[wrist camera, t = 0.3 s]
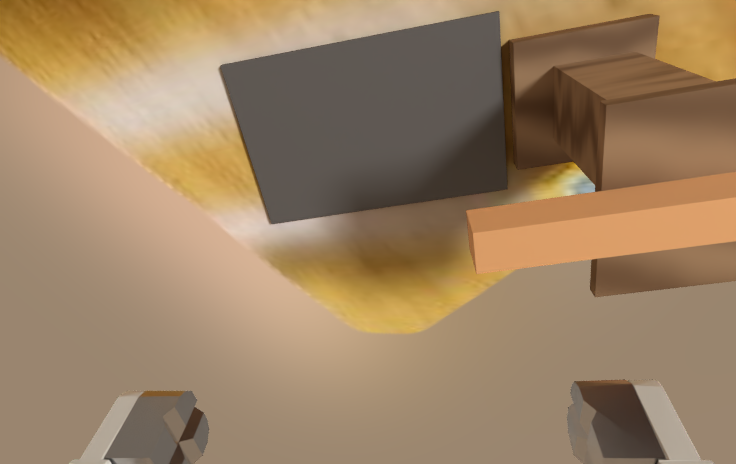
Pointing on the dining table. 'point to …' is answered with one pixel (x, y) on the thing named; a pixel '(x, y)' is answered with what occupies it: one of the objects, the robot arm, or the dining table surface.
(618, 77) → the walnut stand
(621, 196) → the orange square bar
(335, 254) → the dining table surface
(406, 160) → the rubber mat
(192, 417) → the robot arm
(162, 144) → the dining table surface
